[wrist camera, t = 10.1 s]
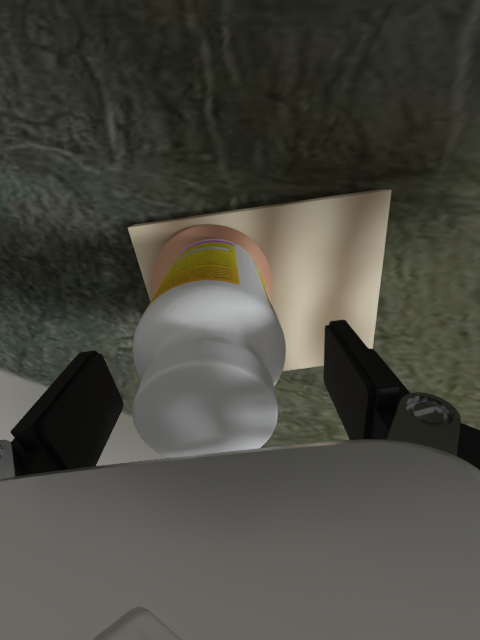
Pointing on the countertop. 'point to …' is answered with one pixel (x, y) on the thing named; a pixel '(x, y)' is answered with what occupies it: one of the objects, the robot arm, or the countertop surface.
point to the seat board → (292, 261)
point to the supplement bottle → (208, 355)
